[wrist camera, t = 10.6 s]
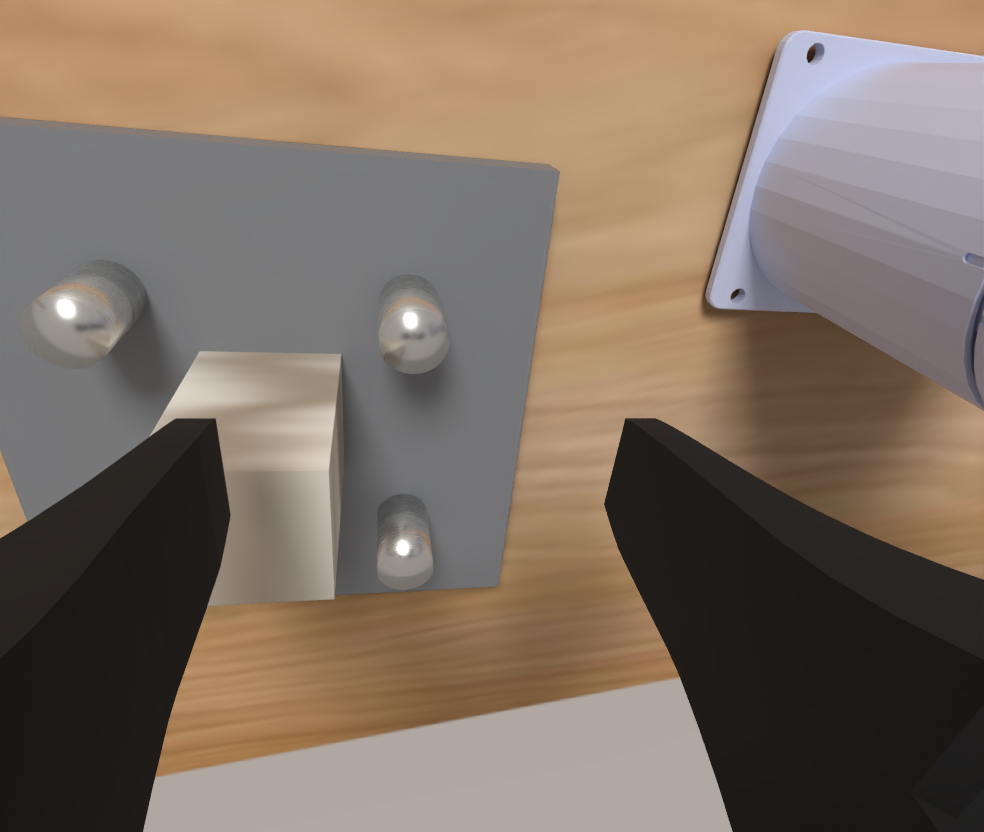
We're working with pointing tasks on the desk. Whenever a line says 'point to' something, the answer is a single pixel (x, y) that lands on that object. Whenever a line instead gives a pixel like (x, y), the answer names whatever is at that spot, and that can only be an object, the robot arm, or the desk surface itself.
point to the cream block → (273, 469)
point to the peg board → (279, 317)
